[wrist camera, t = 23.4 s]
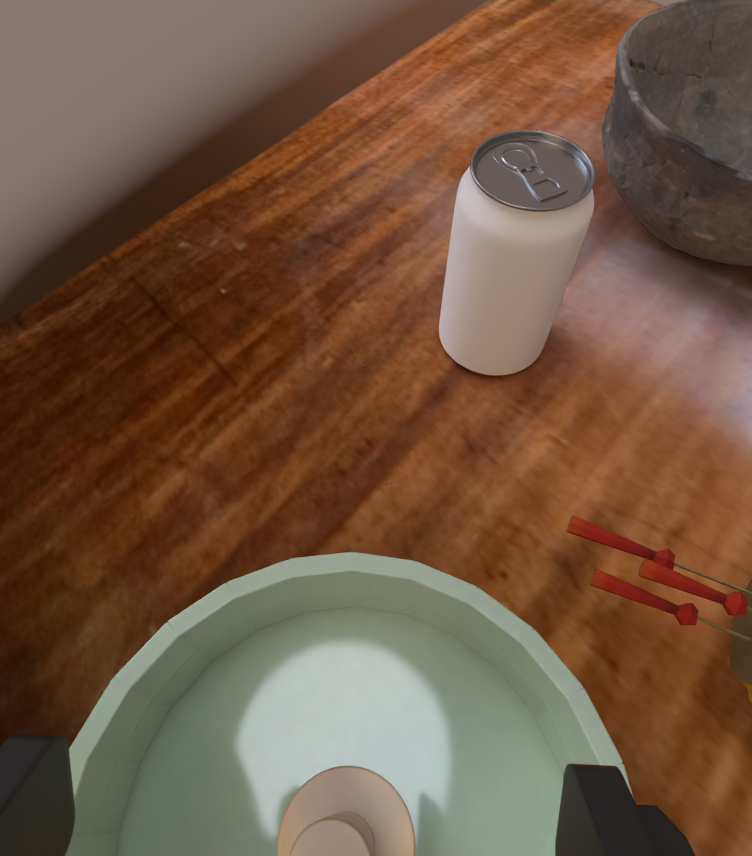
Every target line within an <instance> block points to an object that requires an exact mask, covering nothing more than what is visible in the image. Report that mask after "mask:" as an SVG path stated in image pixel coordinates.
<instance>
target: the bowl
mask: <svg viewBox="0 0 752 856" xmlns="http://www.w3.org/2000/svg"><path fill="white" fill-rule="evenodd" d="M602 138H603V146H604V152H605V157H606V162H607V172H608V175H609V179H610V180H611V182H612V183H613V185H614V186H615V188H616V189H617V191H618V193H619V194H620V196H621V197H622V199H623V201H624V202H625V204H626V205H627V206H628V208H629V209H630V210H631V212H632V213H633V214H634V215H635V217H636V218H637V219H638V220H639V221H640V222H641V223H642V224H643V225H644V226H645V228H646V229H647V230H648V231H649V232H650V233H652V234H653V235H654V236H656V237H657V238H658V239H660V240H662V241H663V242H665V243H667V244H668V245H670V246H672V247H673V248H675V249H677V250H681V251H684V252H686V253H688V254H690V255H693V256H695V257H699V258H703V259H707V260H711V261H715V262H720V263H725V264H733V265H745V266H752V0H683V1H680V2H676V3H672V4H669V5H667V6H665V7H662V8H660V9H657V10H655V11H653V12H651V13H649V14H648V15H646V16H644V17H643V18H641V19H640V20H639V21H637V22H636V23H635V24H634V25H632V26H631V27H630V28H629V29H628V30H627V31H626V32H625V34H624V35H623V37H622V38H621V40H620V41H619V43H618V46H617V54H616V69H615V87H614V91H613V95H612V98H611V102H610V105H609V107H608V109H607V112H606V116H605V119H604V123H603V127H602Z"/></svg>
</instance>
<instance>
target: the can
mask: <svg viewBox="0 0 752 856" xmlns="http://www.w3.org/2000/svg"><path fill="white" fill-rule="evenodd" d="M594 182H595V168H594V165H593V163H592V161H591V159H590V157H589V156H588V155H587V154H586V152H585V151H584V150H582V149H581V148H580V147H579V146H578V145H576V144H575V143H573V142H572V141H570V140H568V139H566V138H564V137H561V136H559V135H556V134H553V133H549V132H545V131H539V130H527V129H523V130H511V131H506V132H502V133H499V134H496V135H494V136H491V137H489V138H488V139H486V140H485V141H483V142H482V143H481V144H480V145H479V146H478V147H477V148H476V149H475V151H474V152H473V154H472V157H471V160H470V167H469V168H468V169H467V171H466V172H465V173H464V175H463V177H462V179H461V181H460V183H459V187H458V191H457V196H456V202H455V209H454V216H453V223H452V231H451V238H450V245H449V253H448V260H447V268H446V275H445V283H444V290H443V298H442V306H441V314H440V323H439V336H440V340H441V343H442V345H443V347H444V349H445V350H446V352H447V353H448V354H449V356H450V357H451V358H452V359H453V360H455V361H456V362H457V363H458V364H460V365H461V366H463V367H465V368H467V369H469V370H471V371H474V372H476V373H480V374H485V375H507V374H512V373H516V372H519V371H521V370H523V369H525V368H527V367H528V366H530V365H531V364H532V363H533V362H534V361H535V360H536V359H537V358H538V357H539V355H540V354H541V352H542V350H543V347H544V345H545V343H546V340H547V337H548V335H549V332H550V330H551V327H552V324H553V322H554V319H555V316H556V314H557V311H558V308H559V306H560V303H561V300H562V298H563V295H564V292H565V289H566V287H567V284H568V281H569V279H570V276H571V273H572V271H573V268H574V265H575V262H576V260H577V257H578V254H579V251H580V249H581V246H582V243H583V240H584V238H585V235H586V232H587V229H588V226H589V223H590V220H591V217H592V213H593V209H594V196H593V190H592V187H593V185H594Z"/></svg>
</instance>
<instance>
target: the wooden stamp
mask: <svg viewBox="0 0 752 856" xmlns="http://www.w3.org/2000/svg"><path fill="white" fill-rule="evenodd" d="M277 856H415V834H414V828H413V823H412V820H411V816H410V813H409V811H408V809H407V806H406V804H405V802H404V801H403V799H402V797H401V796H400V794H399V793H398V792H397V790H396V789H395V788H394V787H393V786H392V785H391V784H390V783H389V782H388V781H387V780H386V779H385V778H383V777H382V776H380V775H379V774H377V773H375V772H374V771H371V770H369V769H366V768H362V767H358V766H338V767H333V768H330V769H327V770H324V771H322V772H320V773H318V774H316V775H315V776H313V777H312V778H311V779H309V780H308V781H307V782H306V783H305V784H304V785H303V786H301V788H300V789H299V790H298V791H297V792H296V794H295V795H294V796H293V798H292V800H291V801H290V803H289V805H288V807H287V809H286V811H285V813H284V816H283V818H282V821H281V825H280V829H279V834H278V841H277Z"/></svg>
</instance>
